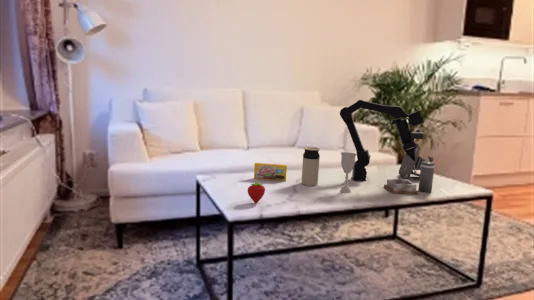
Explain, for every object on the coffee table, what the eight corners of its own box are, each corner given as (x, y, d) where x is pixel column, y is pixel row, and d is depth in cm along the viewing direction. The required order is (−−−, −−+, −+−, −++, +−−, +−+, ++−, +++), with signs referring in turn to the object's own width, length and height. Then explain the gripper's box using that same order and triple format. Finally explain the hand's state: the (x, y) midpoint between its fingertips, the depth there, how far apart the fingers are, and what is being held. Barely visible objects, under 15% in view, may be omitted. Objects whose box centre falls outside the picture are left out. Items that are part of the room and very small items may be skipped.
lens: (421, 192, 204) (424, 163, 202) (415, 189, 210) (418, 161, 208) (433, 193, 205) (437, 164, 202) (428, 189, 211) (431, 161, 208)
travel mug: (320, 185, 208) (322, 149, 205) (304, 186, 206) (307, 149, 203) (313, 181, 216) (316, 146, 213) (299, 182, 214) (301, 146, 211)
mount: (392, 193, 200) (393, 185, 199) (383, 186, 212) (384, 178, 211) (418, 194, 201) (419, 185, 200) (408, 187, 213) (409, 179, 212)
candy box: (253, 179, 216) (254, 163, 215) (254, 178, 218) (254, 162, 217) (285, 181, 215) (286, 165, 213) (286, 180, 217) (286, 164, 215)
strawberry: (244, 201, 177) (245, 178, 176) (260, 200, 181) (261, 177, 179) (250, 205, 172) (251, 181, 170) (267, 204, 176) (268, 180, 174)
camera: (430, 187, 230) (444, 152, 227) (400, 177, 231) (413, 142, 227) (424, 182, 241) (437, 149, 238) (395, 173, 242) (408, 139, 238)
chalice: (354, 190, 202) (357, 153, 199) (352, 194, 196) (355, 155, 193) (339, 188, 205) (341, 151, 202) (336, 192, 198) (339, 153, 195)
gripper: (421, 126, 204) (432, 157, 204) (418, 122, 221) (428, 151, 222) (397, 134, 207) (408, 164, 208) (397, 130, 225) (407, 157, 226)
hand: (414, 159), depth 216 cm, fingers open, 9 cm apart
